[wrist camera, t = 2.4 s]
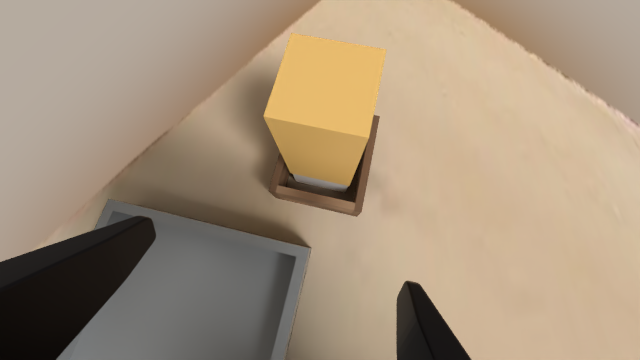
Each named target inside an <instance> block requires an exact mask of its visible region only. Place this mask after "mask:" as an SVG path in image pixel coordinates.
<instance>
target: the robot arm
mask: <svg viewBox="0 0 640 360" xmlns="http://www.w3.org/2000/svg"><path fill="white" fill-rule="evenodd" d="M155 239H156V231H155V228H154V224H153V221H152V219H151V218H149V217H146V216H141V215H138V216H134V217H131V218H129V219H126V220H123V221H120V222H117V223H114V224H111V225H108V226H105V227H102V228H99V229H96V230H93V231H90V232H87V233H84V234H82V235H79V236H76V237H73V238H70V239H67V240H64V241H61V242H58V243H55V244H52V245H49V246H46V247H43V248H40V249H37V250H34V251H32V252H29V253H26V254H23V255H20V256H17V257H14V258H11V259H8V260H5V261H2V262H0V360H56V359H57V358H58V357H59V356H60V355H61V354H62V352H63V351H64V350H65V349H66V348H67V347H68V346H69V344H70V343H71V342H72V341H73V340H74V339H75V338H76V336H77V335H78V334H79V333H80V332H81V331H82V330H83V328H84V327H85V326H86V325H87V324H88V323H89V322H90V320H91V319H92V318H93V317H94V316H95V315H96V314H97V312H98V311H99V310H100V309H101V308H102V307H103V306H104V304H105V303H106V302H107V301H108V300H109V299H110V298H111V296H112V295H113V294H114V293H115V292H116V291H117V290H118V288H119V287H120V286H121V285H122V284H123V283H124V281H125V280H126V279H127V278H128V276H129V275H130V274H131V272H132V271H133V270H134V268H135V267H136V266H137V264H138V263H139V262H140V260H141V259H142V257H143V256H144V255H145V253H146V252H147V251H148V249H149V248H150V247H151V245H152V244H153V242H154V241H155ZM397 360H471V358H470V357H469V355H468V354H467V353H466V351H465V350H464V348H463V347H462V345H461V344H460V342H459V341H458V339H457V338H456V336H455V335H454V333H453V332H452V331H451V329H450V328H449V326H448V325H447V323H446V322H445V320H444V319H443V317H442V316H441V314H440V313H439V312H438V310H437V309H436V307H435V306H434V304H433V303H432V301H431V300H430V298H429V297H428V295H427V294H426V292H425V291H424V290H423V288H422V287H421V285H420V284H418V283H416V282H412V281H405V283H404V284H403V286H402V288H401V290H400V292H399V294H398V297H397Z"/></svg>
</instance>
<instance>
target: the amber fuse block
mask: <svg viewBox="0 0 640 360" xmlns="http://www.w3.org/2000/svg"><path fill="white" fill-rule="evenodd" d="M385 55H386V49H381V48H375V47H369V46H363V45H357V44H352V43H346V42H340V41H334V40H328V39H323V38H317V37H311V36H305V35H300V34H294V33H291V35H290V38H289V41H288V44H287V47H286V50H285V53H284V56H283V59H282V62H281V65H280V68H279V71H278V74H277V77H276V80H275V83H274V86H273V89H272V92H271V95H270V98H269V101H268V104H267V107H266V110H265V113H264V116H263V117H264V119H265V121H266V123H267V125H268V127H269V129H270V131H271V134H272V136H273V138H274V140H275V142H276V144H277V146H278V148H279V150H280V152H281V155H282V157H283V159H284V161H285V163H286V165H287V167H288V169H289V171H290V173H292V174H293V176H294V178H295V180H296V182H300V183H304V184H309V185H313V186H318V187H322V188H327V189H331V190H335V191H340V192H344V193H345V192H346V190H347V187H348V186H350V183H351V181H352V178H353V176H354V173H355V171H356V169H357V166H358V164H359V161H360V159H361V156H362V154H363V151H364V149H365V146H366V144H367V142H368V139H369V135H370V130H371V125H372V120H373V115H374V110H375V105H376V100H377V95H378V90H379V85H380V80H381V75H382V70H383V65H384V60H385Z"/></svg>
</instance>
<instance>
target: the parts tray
mask: <svg viewBox="0 0 640 360" xmlns="http://www.w3.org/2000/svg"><path fill="white" fill-rule="evenodd" d="M138 215H141V216H146V217H149V218H151V219H152V221H153V224H154V228H155V231H156V239H155V241H154V242H153V244H152V245H151V247H150V248H149V249H148V251H147V252H146V253H145V255H144V256H143V257H142V259H141V260H140V262H139V263H138V264H137V266H136V267H135V268H134V270H133V271H132V272H131V274H130V275H129V276H128V278H127V279H126V280H125V281H124V283H123V284H122V285H121V286H120V287H119V288H118V290H117V291H116V292H115V293H114V294H113V295H112V296H111V298H110V299H109V300H108V301H107V302H106V303H105V304H104V306H103V307H102V308H101V309H100V310H99V311H98V312H97V314H96V315H95V316H94V317H93V318H92V319H91V320H90V322H89V323H88V324H87V325H86V326H85V327H84V328H83V330H82V331H81V332H80V333H79V334H78V335H77V336H76V338H75V339H74V340H73V341H72V342H71V343H70V344H69V346H68V347H67V348H66V349H65V350H64V351H63V352H62V354H61V355H60V356H59V357H58V358H57V359H56V360H285V358H286V354H287V350H288V345H289V341H290V337H291V333H292V328H293V324H294V320H295V316H296V312H297V307H298V303H299V299H300V295H301V290H302V286H303V282H304V278H305V273H306V269H307V265H308V261H309V256H310V252H311V248H309V247H305V246H301V245H297V244H293V243H289V242H284V241H280V240H276V239H272V238H268V237H264V236H260V235H256V234H252V233H248V232H244V231H240V230H236V229H232V228H228V227H224V226H220V225H216V224H212V223H208V222H203V221H199V220H195V219H191V218H187V217H183V216H179V215H175V214H171V213H167V212H163V211H159V210H155V209H151V208H147V207H143V206H139V205H134V204H130V203H125V202H120V201H116V200H111V199H108V201H107V203H106V205H105V208H104V210H103V212H102V214H101V216H100V218H99V220H98V222H97V224H96V226H95V229H94V230H96V229H99V228H102V227H105V226H108V225H111V224H114V223H117V222H120V221H123V220H126V219H129V218H131V217H134V216H138Z"/></svg>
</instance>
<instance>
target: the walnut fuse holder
mask: <svg viewBox="0 0 640 360" xmlns="http://www.w3.org/2000/svg"><path fill="white" fill-rule="evenodd" d="M379 117H380V116H376V115H373V120H372V125H371V130H370V135H369V139H368V142H367V144H366V146H365V149H364V151H363V154H362V159H361V164H360V169H359V174H358V179H357V184H356V188H355V193H354V198H353V202H349V201H345V200H340V199H336V198H331V197H327V196H323V195H318V194H314V193H309V192H305V191H301V190H296V189H292V188H288V187H286V183H287V180H288V176H289V172H290V171H289V169H288V167H287V165H286V163H285V161H284V159H283V157H282V155H281V152H280V154H279V157H278V161H277V164H276V167H275V171H274V174H273V177H272V181H271V184H270V187H269V192H270V193H272V194H273V195H274V196H275V197H276V198H279V199H283V200H288V201H292V202H296V203H301V204H305V205H309V206H314V207H318V208H322V209H327V210H331V211H335V212H339V213H344V214H348V215H352V216H358V215H359V214H360V213H361V212H362V207H363V201H364V196H365V191H366V186H367V180H368V175H369V170H370V165H371V159H372V154H373V149H374V143H375V138H376V133H377V128H378V122H379Z"/></svg>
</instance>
